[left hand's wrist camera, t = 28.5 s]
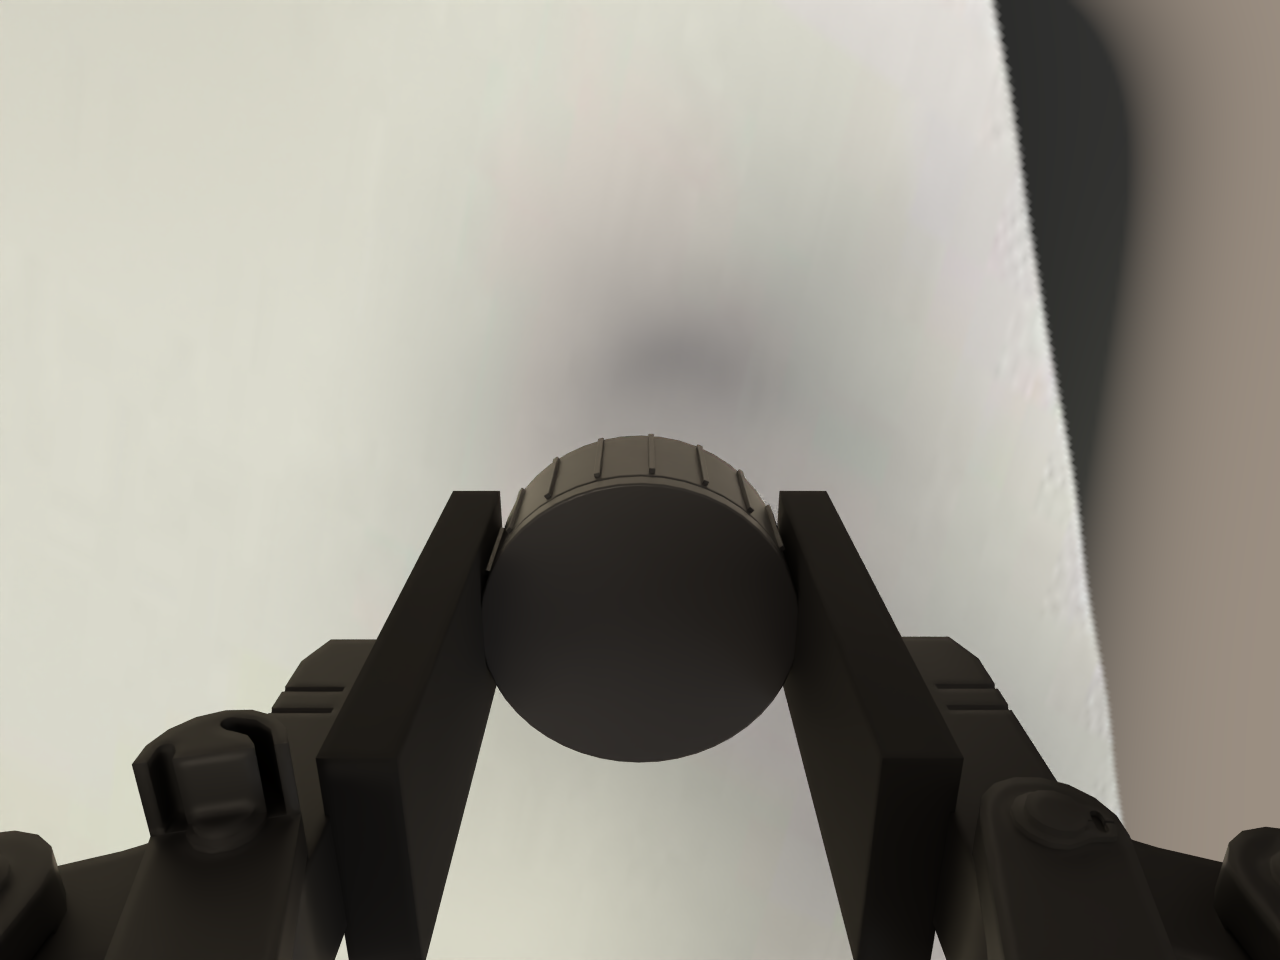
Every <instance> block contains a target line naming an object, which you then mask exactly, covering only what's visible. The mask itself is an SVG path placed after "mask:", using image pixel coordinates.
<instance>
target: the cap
mask: <svg viewBox="0 0 1280 960" xmlns="http://www.w3.org/2000/svg"><path fill="white" fill-rule="evenodd" d="M784 550H785V547H784V544H783V541H782V538H781V536H780V533H779V530H778V527H777V524H776V521H775V518H774V515H773V513H772V510H771V507H770V506H769V505H767V506H766V505H765V504H764V502H763V501H762V499H761V498H760V496H759V495H758V493H757V492H756V490H755V489H754V488H753V487H752V486H751V484H750V483H749V482H748V481H747V480H746V479H745V477H744V474H743V472H742V471H741V470H740V469H739V470H738V471H736V470H735V469H734V468H733V467H732V466H731V465H729V464H728V463H726V462H725V461H723V460H722V459H720V458H718V457H717V456H715V455H714V454H712V453H709V452H707V451H705V450H703V447H702V446H700V445H697V446H694V445H691V444H688V443H685V442H682V441H678V440H673V439H668V438H663V437H654V434H648V436H626V437H617V438H612V439H606V440H604V438H601V439H598V442H595V443H592V444H589V445H586V446H583V447H581V448H579V449H576V450H574V451H572V452H570V453H568V454H566V455H564V456H563V457H561V458H560V459H559V458H558V457H556V458H555V459H553V463H552V464H550V465H549V466H548V467H547V468H546V469H544V470H543V471H542V472H541V473H540V474H538V475H537V476H536V477H535V478H534V480H533V481H532V482H531V483H530V484H529V485H528V486H527V487H526V488H525V489H523V488H521V490H520V491H519V494H518V497H517V500H516V503H515V505H514V507H513V509H512V511H511V513H510V515H509V517H508V519H507V522H506V525H505V528H502V527H501V528H500V530H499V533H498V536H497V539H496V542H495V545H494V547H493V550H492V553H491V556H490V559H489V562H488V564H487V567H486V570H485V575H487V576H488V578H487V581H486V584H485V587H484V590H483V594H482V599H481V609H482V624H483V637H484V650H485V660H486V664H487V667H488V669H489V671H490V673H491V675H492V678H493V680H494V682H495V684H496V685H497V687H498V688H499V690H500V692H501V693H502V695H503V696H504V698H505V699H506V700H507V702H508V703H509V704H510V705H511V706H512V707H513V709H514V710H515V711H516V712H517V713H518V714H519V715H520V716H521V717H522V718H523V719H524V720H526V721H527V722H528V723H529V724H530V725H531V726H532V727H534V728H535V729H537V730H538V731H539V732H541V733H542V734H544V735H545V736H547V737H548V738H550V739H552V740H554V741H556V742H558V743H559V744H561V745H563V746H566V747H568V748H570V749H573V750H575V751H578V752H580V753H584V754H587V755H591V756H594V757H598V758H602V759H608V760H614V761H622V762H659V761H665V760H671V759H678V758H681V757H685V756H689V755H693V754H696V753H699V752H701V751H704V750H707V749H709V748H712V747H714V746H716V745H718V744H720V743H722V742H724V741H726V740H728V739H729V738H731V737H733V736H734V735H736V734H737V733H739V732H740V731H741V730H743V729H744V728H746V727H747V726H748V725H750V724H751V723H752V722H753V721H754V720H755V719H756V718H757V717H759V716H760V715H761V714H762V713H763V711H764V710H765V709H766V708H767V707H768V706H769V705H770V703H771V702H772V701H773V700H774V698H775V697H776V695H777V694H778V692H779V691H780V689H781V688H782V686H783V685H784V683H785V681H786V679H787V677H788V674H789V672H790V670H791V668H792V665H793V662H794V655H795V643H796V629H797V616H798V595H797V592H796V589H795V586H794V582H793V579H792V576H791V573H790V570H789V567H788V564H787V561H786V558H785V555H784V552H783V551H784Z"/></svg>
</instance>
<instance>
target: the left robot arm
mask: <svg viewBox="0 0 1280 960" xmlns="http://www.w3.org/2000/svg"><path fill="white" fill-rule="evenodd" d="M501 527H502V517H501V501H500V491H453V492H452V494H451V496H450V498H449V500H448V502H447V504H446V506H445V508H444V510H443V512H442V514H441V516H440V518H439V520H438V522H437V523H436V525H435V527H434V529H433V531H432V533H431V535H430V537H429V539H428V541H427V543H426V545H425V547H424V549H423V551H422V553H421V554H420V556H419V558H418V560H417V562H416V564H415V566H414V568H413V570H412V572H411V574H410V576H409V578H408V580H407V582H406V584H405V585H404V587H403V589H402V591H401V593H400V595H399V597H398V599H397V601H396V603H395V605H394V607H393V609H392V611H391V613H390V615H389V617H388V618H387V620H386V622H385V624H384V626H383V628H382V630H381V632H380V634H379V636H378V638H377V640H330V641H328V642H327V643H326V644H324V645H323V646H321V647H320V648H319V649H317V650H316V651H315V652H313V653H312V654H311V655H309V656H308V657H307V658H305V659H304V660H303V661H301V663H300V664H299V666H298V667H297V669H296V671H295V672H294V674H293V675H292V677H291V678H290V680H289V682H288V683H287V685H286V686H285V692H282V693H281V694H280V696H279V697H278V699H277V700H276V702H275V704H274V705H273V707H272V713H268V714H266V713H262V712H258V711H255V710H225V711H221V712H217V713H212V714H208V715H204V716H199V717H196V718H193V719H191V720H189V721H187V722H184V723H182V724H180V725H178V726H175V727H173V728H171V729H169V730H167V731H166V732H164V733H163V734H162V735H160V736H159V737H157V738H156V739H155V740H153V741H152V742H151V743H149V744H148V745H146V746H145V748H144V749H143V750H142V752H141V753H140V754H139V756H138V757H137V758H136V760H135V761H134V762H133V764H132V767H133V771H134V774H135V778H136V782H137V786H138V790H139V794H140V798H141V801H142V805H143V809H144V813H145V817H146V821H147V824H148V828H149V832H150V836H151V837H150V840H149V842H148V843H147V844H144V845H141V846H138V847H134V848H131V849H128V850H125V851H121V852H116V853H112V854H108V855H103V856H99V857H95V858H90V859H86V860H82V861H78V862H73V863H69V864H65V865H60V866H57V863H56V860H55V856H54V853H53V850H52V847H51V846H50V845H49V844H48V843H47V842H46V841H45V840H44V839H42V838H41V837H40V836H39V835H37V834H31V833H25V832H20V831H8V832H0V960H335V957H336V955H337V952H338V949H339V947H340V944H341V941H342V938H343V936H344V933H345V939H346V945H347V951H348V958H349V960H426V957H427V953H428V949H429V945H430V941H431V938H432V934H433V930H434V926H435V922H436V918H437V914H438V910H439V906H440V903H441V899H442V895H443V891H444V887H445V883H446V879H447V875H448V872H449V868H450V864H451V860H452V856H453V852H454V848H455V844H456V840H457V837H458V833H459V829H460V825H461V821H462V817H463V813H464V809H465V805H466V802H467V798H468V794H469V790H470V786H471V782H472V778H473V774H474V771H475V767H476V763H477V759H478V755H479V751H480V747H481V743H482V739H483V736H484V732H485V728H486V724H487V720H488V716H489V712H490V708H491V704H492V701H493V697H494V693H495V689H496V684H495V682H494V680H493V678H492V675H491V673H490V671H489V669H488V667H487V664H486V660H485V650H484V637H483V624H482V609H481V599H482V594H483V590H484V587H485V584H486V581H487V578H488V576H487V575H485V570H486V567H487V564H488V562H489V559H490V556H491V553H492V550H493V547H494V545H495V542H496V539H497V536H498V533H499V530H500V528H501ZM777 527H778V530H779V533H780V536H781V538H782V541H783V544H784V547H785V550H784V551H783V552H784V555H785V558H786V561H787V564H788V567H789V570H790V573H791V576H792V579H793V582H794V586H795V589H796V592H797V595H798V616H797V629H796V643H795V655H794V662H793V665H792V668H791V670H790V672H789V674H788V677H787V679H786V681H785V683H784V685H783V687H784V691H785V695H786V699H787V703H788V707H789V710H790V714H791V718H792V722H793V726H794V730H795V734H796V738H797V742H798V745H799V749H800V753H801V757H802V761H803V765H804V769H805V773H806V777H807V780H808V784H809V788H810V792H811V796H812V800H813V804H814V808H815V811H816V815H817V819H818V823H819V827H820V831H821V835H822V839H823V843H824V846H825V850H826V854H827V858H828V862H829V866H830V870H831V874H832V878H833V881H834V885H835V889H836V893H837V897H838V901H839V905H840V909H841V913H842V916H843V920H844V924H845V928H846V932H847V936H848V940H849V944H850V948H851V951H852V955H853V959H854V960H931V954H932V948H933V942H934V936H935V930H936V933H937V936H938V938H939V941H940V944H941V946H942V949H943V952H944V955H945V957H946V960H1280V829H1279V828H1271V827H1262V828H1256V829H1251V830H1245V831H1242V832H1241V833H1239V834H1238V835H1237V836H1236V837H1235V838H1234V839H1233V840H1232V841H1230V842H1229V844H1228V848H1227V851H1226V854H1225V857H1224V860H1223V862H1218V861H1214V860H1209V859H1205V858H1201V857H1197V856H1192V855H1188V854H1183V853H1179V852H1175V851H1170V850H1166V849H1162V848H1157V847H1154V846H1151V845H1147V844H1144V843H1141V842H1137V841H1134V840H1132V839H1131V838H1130V836H1129V834H1128V832H1127V831H1126V829H1125V828H1124V826H1123V825H1122V823H1121V822H1120V820H1119V819H1118V817H1117V816H1116V815H1115V814H1114V813H1113V812H1112V811H1110V810H1109V809H1108V808H1107V807H1105V806H1104V805H1103V804H1102V803H1101V802H1099V801H1098V800H1097V799H1096V798H1094V797H1092V796H1090V795H1088V794H1086V793H1084V792H1082V791H1080V790H1078V789H1076V788H1074V787H1072V786H1070V785H1068V784H1064V783H1060V782H1057V780H1056V779H1055V777H1054V776H1053V774H1052V773H1051V771H1050V769H1049V768H1048V766H1047V765H1046V763H1045V762H1044V760H1043V759H1042V757H1041V755H1040V754H1039V752H1038V751H1037V749H1036V748H1035V746H1034V744H1033V743H1032V741H1031V740H1030V738H1029V737H1028V735H1027V734H1026V732H1025V730H1024V729H1023V727H1022V726H1021V724H1020V723H1019V721H1018V720H1017V718H1016V716H1015V715H1014V713H1013V712H1012V710H1008V704H1007V702H1006V701H1005V699H1004V698H1003V696H1002V695H1001V693H1000V691H999V690H998V689H995V684H994V682H993V680H992V679H991V677H990V676H989V674H988V673H987V671H986V670H985V668H984V666H983V665H982V663H981V662H980V660H979V659H978V658H977V657H976V656H974V655H973V654H972V653H970V652H969V651H968V650H966V649H965V648H963V647H962V646H961V645H959V644H958V643H957V642H955V641H954V640H953V639H951V638H950V637H901V635H900V633H899V631H898V629H897V627H896V625H895V623H894V622H893V620H892V618H891V616H890V614H889V612H888V610H887V608H886V606H885V604H884V602H883V600H882V598H881V596H880V594H879V592H878V591H877V589H876V587H875V585H874V583H873V581H872V579H871V577H870V575H869V573H868V571H867V569H866V567H865V565H864V563H863V561H862V559H861V558H860V556H859V554H858V552H857V550H856V548H855V546H854V544H853V542H852V540H851V538H850V536H849V534H848V532H847V530H846V528H845V527H844V525H843V523H842V521H841V519H840V517H839V515H838V513H837V511H836V509H835V507H834V505H833V503H832V501H831V499H830V497H829V495H828V494H827V492H826V491H780V492H779V508H778V524H777Z"/></svg>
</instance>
